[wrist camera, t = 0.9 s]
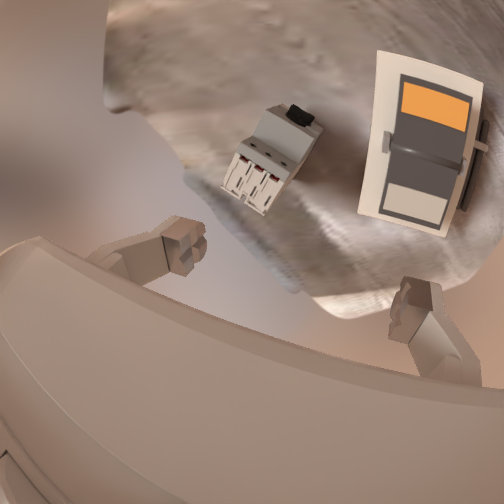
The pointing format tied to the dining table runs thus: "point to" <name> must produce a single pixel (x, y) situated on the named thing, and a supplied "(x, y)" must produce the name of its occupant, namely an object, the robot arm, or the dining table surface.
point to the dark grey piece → (481, 148)
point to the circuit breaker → (271, 156)
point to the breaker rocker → (425, 151)
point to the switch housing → (385, 121)
